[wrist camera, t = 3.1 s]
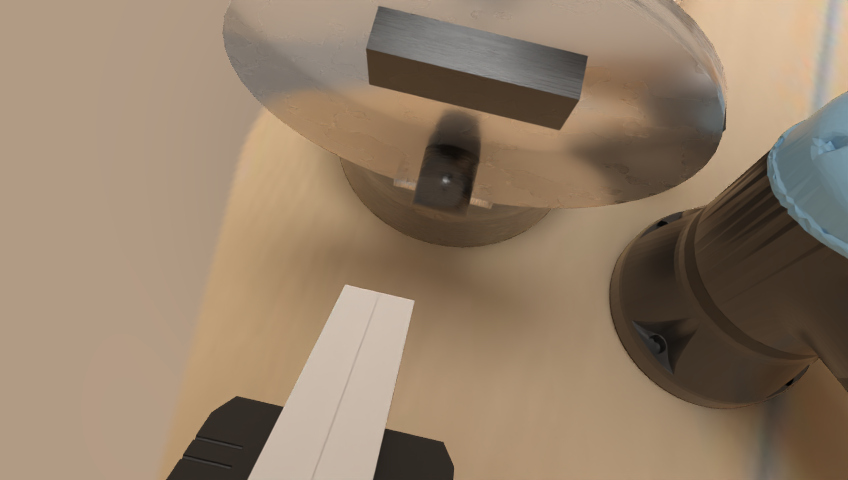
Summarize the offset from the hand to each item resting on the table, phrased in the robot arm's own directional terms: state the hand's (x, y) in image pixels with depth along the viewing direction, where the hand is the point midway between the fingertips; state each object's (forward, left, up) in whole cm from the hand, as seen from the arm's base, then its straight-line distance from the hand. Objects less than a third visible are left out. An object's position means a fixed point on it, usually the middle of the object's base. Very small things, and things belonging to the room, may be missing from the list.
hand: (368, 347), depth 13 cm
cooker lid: (-1, -14, -9) cm, 17 cm away
